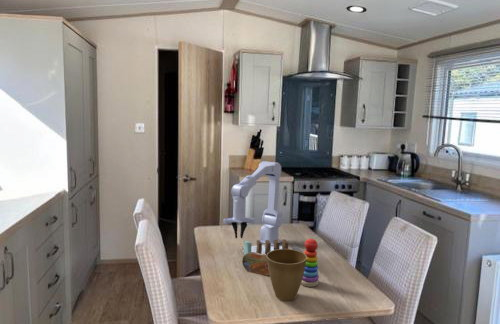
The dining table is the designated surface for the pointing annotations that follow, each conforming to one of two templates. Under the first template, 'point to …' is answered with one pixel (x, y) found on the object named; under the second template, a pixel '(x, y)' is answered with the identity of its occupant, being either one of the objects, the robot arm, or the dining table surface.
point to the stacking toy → (310, 264)
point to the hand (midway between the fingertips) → (238, 237)
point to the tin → (256, 263)
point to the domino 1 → (247, 247)
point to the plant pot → (286, 272)
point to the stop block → (296, 248)
